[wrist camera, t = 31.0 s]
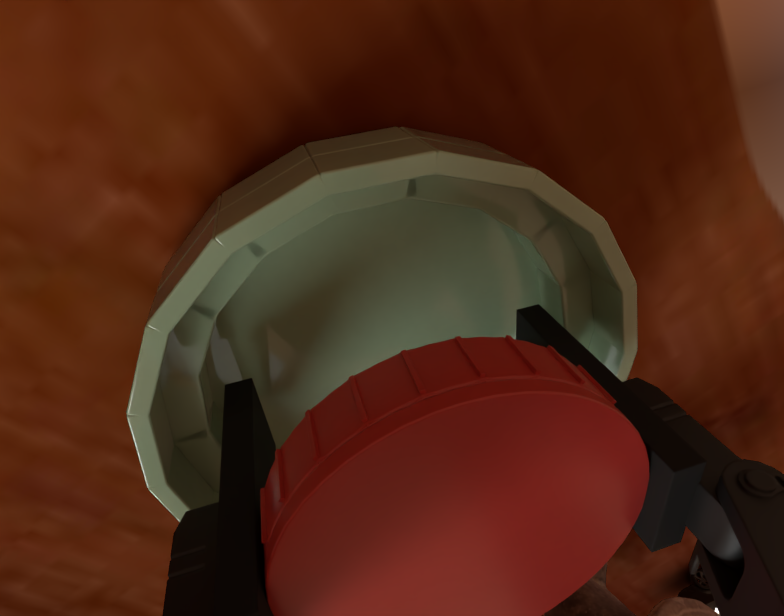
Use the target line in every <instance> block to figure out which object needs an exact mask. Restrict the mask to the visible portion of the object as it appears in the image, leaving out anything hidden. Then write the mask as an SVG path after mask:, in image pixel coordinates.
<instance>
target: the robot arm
mask: <svg viewBox="0 0 784 616" xmlns="http://www.w3.org/2000/svg"><path fill="white" fill-rule="evenodd" d="M516 340H522V341H527V342H530V343H533V344H536V345H539V346H543V347H546V348H547V347H548V345H550V346H552V347H553V348H554V349H555V350H556V351H557V352H558V353H559V354H560V355H561V356H563V357H565V358H566V359H567V360H569V361H570V362H571V363H572V364H574V365H575V366H576V367H577V366H579V365H581V366H582V367H583V368H584V369H585V370H586V371H587V372H588V373H589V374H590V375H591V376H592V377H593V378H594V379H595V380H596V381H597V382H598V383H599V384H600V385H601V386H602V387H603V388H604V389H605V390H606V391H607V392H608V393H609V394H610V395H611V396H612V397H613V398H614V399H615V400H616V401H617V402H616V403H615V404H614V406H615V407H616V408H618V409H619V410H620V411H621V412H622V413H623V414H624V415H625V416H626V417H627V419H628V420H629V421H630V422H631V423H632V424H633V426H634V427H635V428H636V429H637V430H638V432H639V434H640V436H641V438H642V440H643V442H644V444H645V446H646V450H647V454H648V459H649V473H650V477H649V482H648V487H647V492H646V496H645V500H644V503H643V507H642V510H641V512H640V514H639V516H638V518H637V520H636V522H635V524H634V526H633V527H632V528H633V529H634V530H635V531H636V533H637V534H638V535H639V537H640V538H641V539H642V540H643V542H644V543H645V544H646V546H647V547H648V548H649V549H650V551H651V552H654V551H657V550H660V549H662V548H665V547H668V546H671V545H673V544H676V543H679V542H681V539H682V536H683V533H684V530H685V527H686V526H687V527H688V529H689V530H690V531H691V532H692V533H693V534H694V535H695V536H696V537H697V539H698V540H697V543H696V546H695V548H694V551H693V554H692V557H691V560H690V562H689V570H690V574H693V575H696V572H697V569H698V567H699V564H701V567H702V569H703V575H705V577H706V580H707V582H708V585H709V588H710V590H711V593H712V595H713V598H714V601H715V603H716V606H717V608H718V611H719V614H720V616H784V474H782V473H781V472H779V471H778V470H776V469H775V468H773V467H771V466H768V465H766V464H763V463H761V462H757V461H751V460H745V459H744V460H742V459H740V458H739V457H738V456H736V455H735V454H734V453H733V452H732V451H730V450H729V449H728V448H727V447H726V446H725V445H723V444H722V443H721V442H720V441H719V440H718V439H717V438H715V437H714V436H713V435H712V434H711V433H710V432H708V431H707V430H706V429H705V428H704V427H703V426H702V425H700V424H699V423H698V422H697V421H696V420H695V419H693V418H692V417H691V416H690V415H687V414H686V412H685V411H684V410H683V409H682V408H681V407H680V406H678V405H677V404H674V403H673V400H672V399H670V398H669V397H668V396H667V395H666V394H665V393H663V392H662V391H661V390H660V389H659V388H658V387H656V386H654V385H652V384H650V383H647V382H645V381H643V380H641V379H639V378H634V379H630V380H627V381H623V382H622V381H621V380H620V379H619V378H617V377H616V376H615V375H614V374H613V373H612V372H611V371H610V370H609V369H608V368H607V367H606V366H605V365H604V364H602V363H601V362H600V361H599V360H598V359H597V358H596V357H595V356H594V355H593V354H592V353H591V352H590V351H589V350H587V349H586V348H585V347H584V346H583V345H582V344H581V343H580V342H579V341H578V340H577V339H576V338H575V337H574V336H572V335H571V334H570V333H569V332H568V331H567V330H566V329H565V328H564V327H563V326H562V325H561V324H560V323H559V322H557V321H556V320H555V319H554V318H553V317H552V316H551V315H550V314H549V313H548V312H547V311H546V310H545V309H543V308H542V307H541V306H540V305H539V304H537V305H533V306H529V307H525V308H521V309H517V310H516ZM275 451H276V445H275V442H274V439H273V436H272V433H271V430H270V428H269V425H268V422H267V419H266V416H265V414H264V411H263V408H262V405H261V402H260V399H259V397H258V394H257V391H256V388H255V385H254V382H253V380H252V378H249V379H245V380H241V381H238V382H234V383H230V384H226V385H225V390H224V409H223V429H222V448H221V468H220V487H219V502H216V503H213V504H210V505H206V506H203V507H199V508H196V509H193V510H189V511H186V512H185V514H184V516H183V517H182V519H181V521H180V523H179V525H178V527H177V529H176V531H175V532H174V536H173V543H172V551H171V561H170V565H169V572H168V576H169V580H167V587H166V594H165V602H164V609H163V616H274V615H273V613H272V611H271V609H270V607H269V605H268V602H267V599H266V590H265V572H264V567H265V565H264V545H263V543H262V540H261V509H260V489H261V488H265V485H266V482H267V479H268V475H269V472H270V469H271V467H272V465H273V463H274V461H275Z"/></svg>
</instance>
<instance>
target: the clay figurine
mask: <svg viewBox="0 0 784 616" xmlns="http://www.w3.org/2000/svg"><path fill="white" fill-rule="evenodd" d="M606 571H607V562H606V563H605V564H604V566H603V567H602V568H601V569H600V570H599V571H598V572H597V573H596V574H595V575H593V576H592V577H591V578H590V579H589V580H588V581H587V582H586V583H585V584H584V585H582V586H581V587H580V588H579V589H578V590H576V591H575V592H574V593H573V594H571V595H570V596H569V597H568V598H566V599H565V600H563V601H562V602H561V603H559V604H558V605H556V606H555V607H554V608H552V609H551V610H549V611H547V612H546V613H544V616H636V615H635V614H634V613H633V612H631V611H630V610H629V609H628V608H627V607H626V606H625V605H624V604H623V603H622V602H621V601H620V600H618V598H616V597H615V596H614V595H613V594H612V593H611V592H610V591H608V590H607V588H606ZM648 616H718V614H717V613H716V612H715V611H714V610H712V609H711V608H710V607H709V606H707V605H705V604H704V603H702V602H701V601H698V600H695V599H691V598H682V597H673V598H668V599H664V600H662V601H660V602H659V603H658V604H657V605H655V606H654V607H653V609H652V610H651V612H650V614H649V615H648Z"/></svg>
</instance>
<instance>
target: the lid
mask: <svg viewBox="0 0 784 616" xmlns="http://www.w3.org/2000/svg"><path fill="white" fill-rule="evenodd" d="M400 352H401V353H399V354H397V355H394V356H392V357H390V358H388V359H386V360H384V361H382V362H379V363H377V364H375V365H373V366H372V367H370V368H368V369H366V370H364V371H362V372H360V373H358V374H356V375H352V376H350V377H349V378H348V380H347V381H346V382H345V383H343V384H342V385H341V386H339V387H338V388H337V389H335V390H334V391H332V392H331V393H330V394H329V395H327V396H326V397H325V398H324V399H323V400H322V401H321V402H319V403H318V404H317V405H316V406H314V407H313V408H312V409H311V410H309V409H308V410H307V411H306V412H305V417H304V418H303V419H302V421H301V422H300V423H299V424H298V425H297V426H296V427H295V428H294V430H293V431H292V433H291V434H290V436H289V437H288V439H287V440H286V441H285V442H284V444H283V445H282V446H281V449H276V451H275V461H274V463H273V465H272V467H271V469H270V472H269V475H268V479H267V482H266V485H265V488H261V489H260V509H261V540H262V543H263V545H264V565H265V567H264V572H265V590H266V599H267V602H268V605H269V607H270V609H271V611H272V613H273V615H274V616H541V615H543V614H544V613H546V612H547V611H549V610H551V609H552V608H554V607H555V606H556V605H558V604H559V603H561V602H562V601H563V600H565V599H566V598H568V597H569V596H570V595H571V594H573V593H574V592H575V591H576V590H578V589H579V588H580V587H581V586H582V585H584V584H585V583H586V582H587V581H588V580H589V579H590V578H591V577H592V576H593V575H595V574H596V573H597V572H598V571H599V570H600V569H601V568H602V567H603V566H604V564H605V563H606V562H607V561H608V560H609V559H610V558H611V557H612V556H613V555H614V553H615V552H616V551H617V549H618V548H619V547H620V545H621V544H622V543H623V541H624V540H625V539H626V537H627V535H628V534H629V532H630V531H631V529H632V527H633V526H634V524H635V522H636V520H637V518H638V516H639V514H640V512H641V510H642V507H643V503H644V500H645V496H646V492H647V487H648V482H649V477H650V473H649V459H648V454H647V450H646V446H645V444H644V442H643V440H642V438H641V436H640V434H639V432H638V430H637V429H636V428H635V427H634V426H633V424H632V423H631V422H630V421H629V420H628V419H627V417H626V416H625V415H624V414H623V413H622V412H621V411H620V410H619V409H618V408H616V407H615V406H614V404H615V403H616V402H617V401H616V400H615V399H614V398H613V397H612V396H611V395H610V394H609V393H608V392H607V391H606V390H605V389H604V388H603V387H602V386H601V385H600V384H599V383H598V382H597V381H596V380H595V379H594V378H593V377H592V376H591V375H590V374H589V373H588V372H587V371H586V370H585V369H584V368H583V367H582V366H581V365H579V366H577V367H576V366H575V365H574V364H572V363H571V362H570V361H569V360H567V359H566V358H565V357H563V356H561V355H560V354H559V353H558V352H557V351H556V350H555V349H554V348H553V347H552V346H550V345H548V347H547V348H546V347H543V346H539V345H536V344H533V343H530V342H527V341H522V340H516V339H513V338H512V337H511V335H506V337H470V338H461V337H460V336H457V337H455V338H453V339H449V340H445V341H441V342H437V343H432V344H428V345H425V346H421V347H418V348H414V349H410V350H403V351H400Z"/></svg>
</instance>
